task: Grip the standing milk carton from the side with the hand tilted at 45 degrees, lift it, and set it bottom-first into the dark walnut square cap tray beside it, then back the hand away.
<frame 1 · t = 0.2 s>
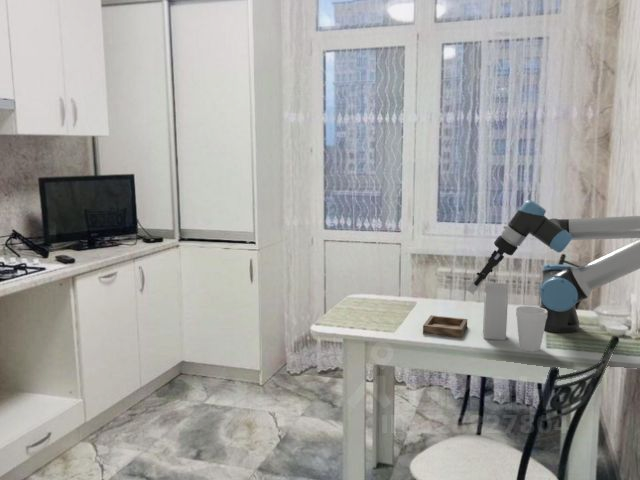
hand: (473, 287, 210), 15 cm above the table, tool tilted 35°, fingers open, 13 cm apart
foam cup: (529, 348, 191), on the table
cap tray: (445, 330, 210), on the table
milk carton: (494, 337, 203), on the table
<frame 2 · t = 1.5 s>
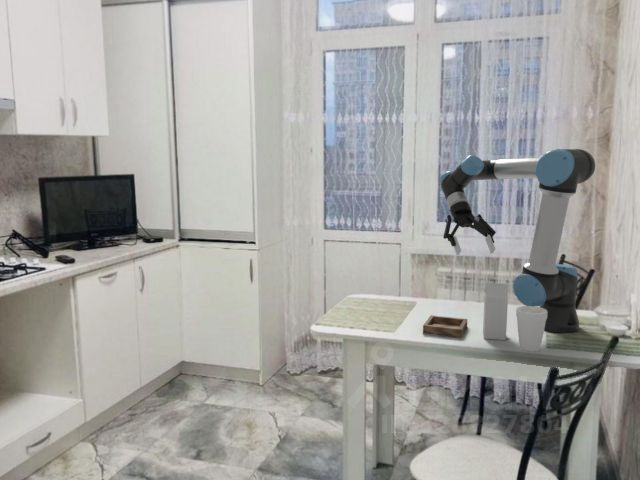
hand: (476, 252, 213), 27 cm above the table, tool tilted 45°, fingers open, 13 cm apart
nothing on the table moved.
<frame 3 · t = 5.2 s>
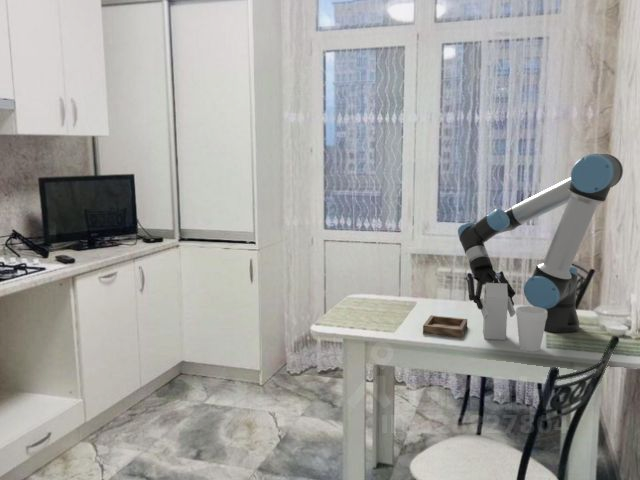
hand: (499, 315, 199), 8 cm above the table, tool tilted 45°, fingers closed on milk carton, 9 cm apart
milk carton: (494, 337, 203), on the table, touching gripper
everything else where it was.
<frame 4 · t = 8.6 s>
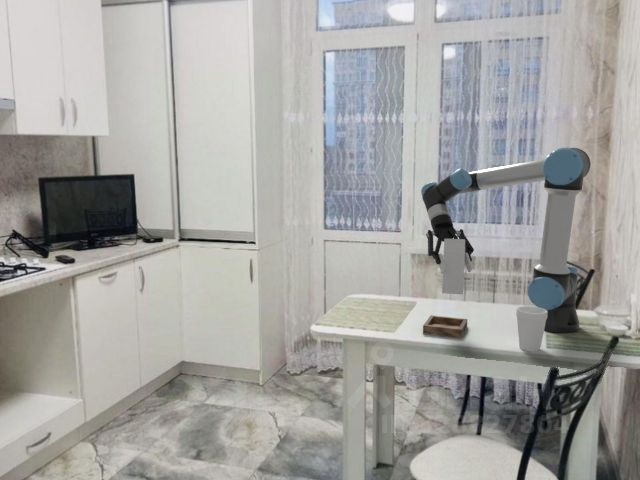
hand: (457, 270, 203), 23 cm above the table, tool tilted 45°, fingers closed on milk carton, 9 cm apart
milk carton: (452, 292, 207), point 14 cm above the table, touching gripper
everything else where it was.
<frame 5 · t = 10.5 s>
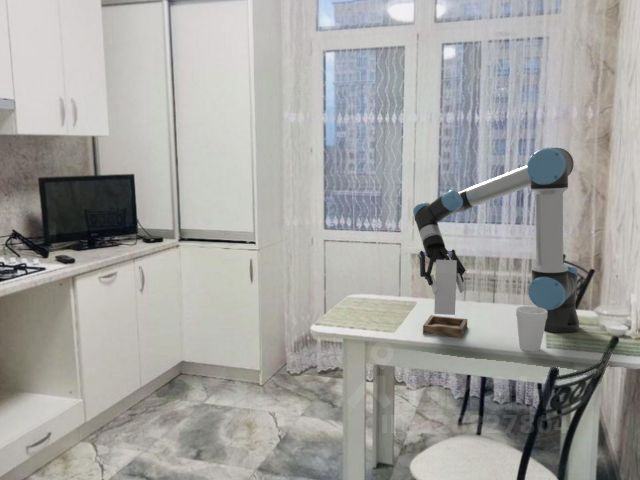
hand: (449, 291, 205), 15 cm above the table, tool tilted 45°, fingers closed on milk carton, 9 cm apart
milk carton: (444, 312, 209), point 6 cm above the table, touching gripper
everything else where it was.
when the fingers open (11 cm above the table, at t = 12.1 s): milk carton drops 1 cm, resting on cap tray.
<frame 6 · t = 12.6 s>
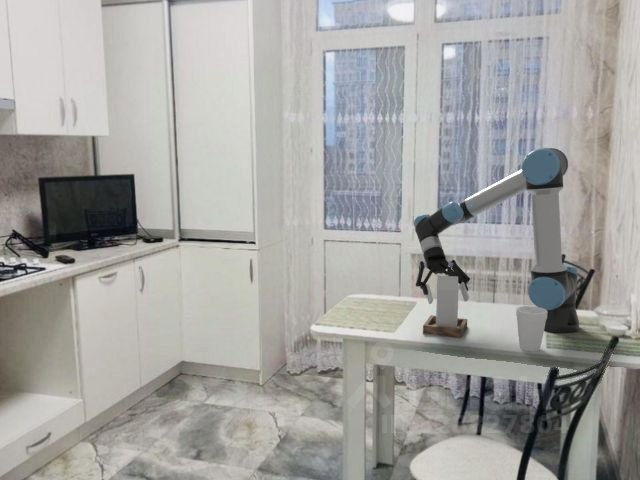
hand: (449, 300, 206), 11 cm above the table, tool tilted 45°, fingers open, 13 cm apart
milk carton: (446, 328, 210), point 1 cm above the table, touching cap tray
everything else where it was.
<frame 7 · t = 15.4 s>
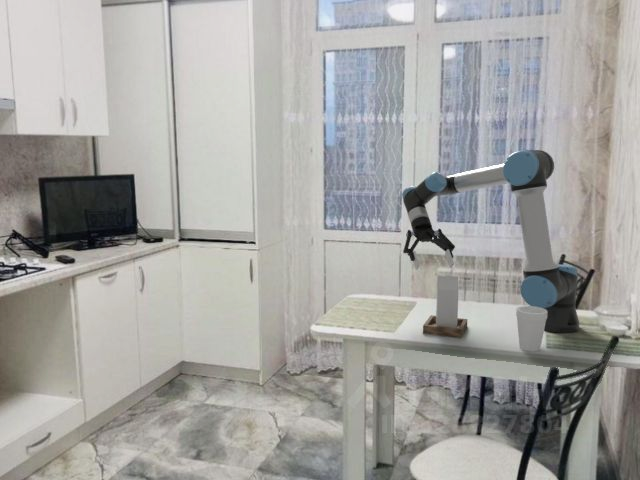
hand: (434, 266, 217), 21 cm above the table, tool tilted 45°, fingers open, 13 cm apart
nothing on the table moved.
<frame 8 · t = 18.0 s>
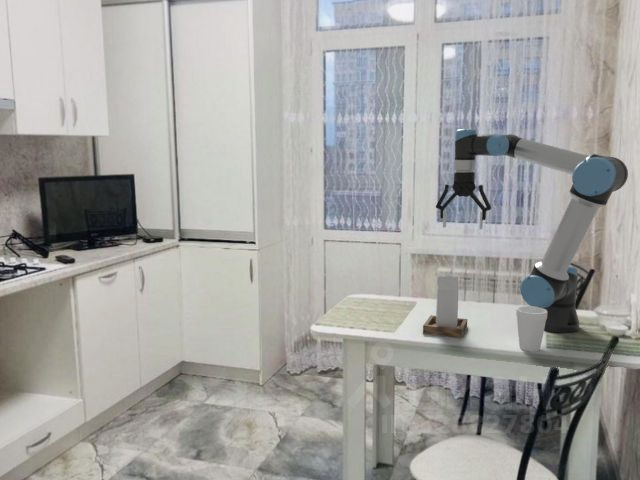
hand: (462, 228, 221), 35 cm above the table, tool pointing down, fingers open, 13 cm apart
nothing on the table moved.
at the end: milk carton 0.4 cm off-centre on the cap tray, point 0.6 cm above the cap tray's base; milk carton tilted 0°; the gripper is holding nothing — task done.
